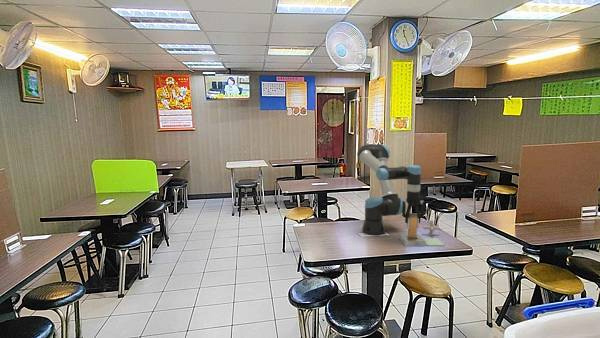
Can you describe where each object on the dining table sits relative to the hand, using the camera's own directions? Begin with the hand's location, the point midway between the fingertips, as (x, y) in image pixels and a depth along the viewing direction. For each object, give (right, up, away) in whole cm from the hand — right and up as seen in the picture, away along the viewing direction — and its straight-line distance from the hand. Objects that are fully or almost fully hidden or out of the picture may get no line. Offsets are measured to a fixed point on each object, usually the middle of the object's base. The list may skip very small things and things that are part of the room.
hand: (412, 228), depth 192 cm
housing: (0, -9, +1) cm, 9 cm away
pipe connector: (+17, -7, +14) cm, 23 cm away
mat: (+12, -9, 0) cm, 15 cm away
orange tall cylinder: (0, -5, +1) cm, 5 cm away
